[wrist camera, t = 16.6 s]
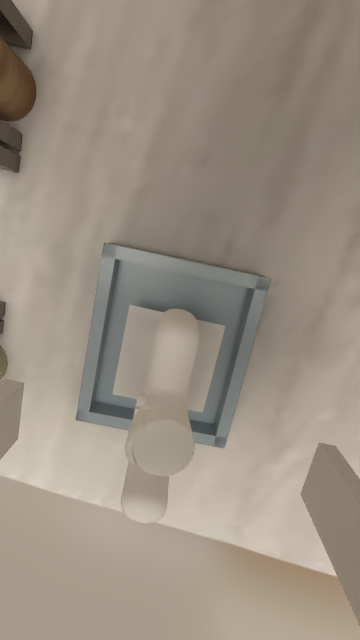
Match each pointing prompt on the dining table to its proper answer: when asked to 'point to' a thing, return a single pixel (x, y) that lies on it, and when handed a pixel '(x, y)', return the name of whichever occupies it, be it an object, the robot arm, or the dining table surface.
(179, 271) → the tray
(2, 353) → the green dowel
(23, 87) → the brown rounded cylinder
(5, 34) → the clip posts
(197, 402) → the figurine
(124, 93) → the dining table surface
